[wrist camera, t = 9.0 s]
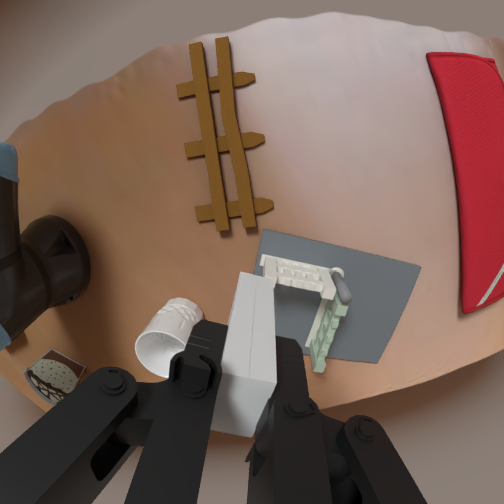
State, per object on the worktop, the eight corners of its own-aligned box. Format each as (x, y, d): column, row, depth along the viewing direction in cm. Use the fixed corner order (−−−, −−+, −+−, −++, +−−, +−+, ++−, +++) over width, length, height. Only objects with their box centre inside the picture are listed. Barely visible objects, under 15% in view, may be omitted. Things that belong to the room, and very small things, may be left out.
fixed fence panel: (263, 265, 39) (262, 285, 33) (265, 255, 39) (264, 274, 33) (323, 277, 39) (332, 300, 33) (326, 268, 39) (336, 289, 33)
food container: (49, 364, 51) (27, 390, 42) (46, 345, 49) (22, 371, 40) (93, 387, 52) (73, 418, 42) (92, 369, 50) (69, 401, 40)
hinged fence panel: (332, 271, 39) (343, 292, 33) (342, 272, 39) (354, 294, 33) (309, 346, 43) (313, 373, 37) (317, 347, 43) (323, 374, 37)
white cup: (164, 285, 42) (139, 321, 33) (214, 305, 42) (200, 345, 33) (154, 325, 45) (131, 364, 35) (200, 343, 45) (185, 386, 36)
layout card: (238, 339, 44) (237, 342, 44) (263, 228, 38) (263, 230, 38) (376, 360, 45) (377, 363, 44) (419, 265, 39) (421, 267, 38)
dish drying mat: (489, 60, 27) (502, 56, 23) (511, 282, 39) (522, 290, 36) (421, 55, 29) (433, 48, 25) (454, 307, 41) (464, 317, 38)
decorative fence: (201, 229, 39) (275, 220, 39) (197, 233, 38) (275, 224, 37) (174, 53, 32) (248, 38, 31) (170, 49, 30) (247, 33, 29)
